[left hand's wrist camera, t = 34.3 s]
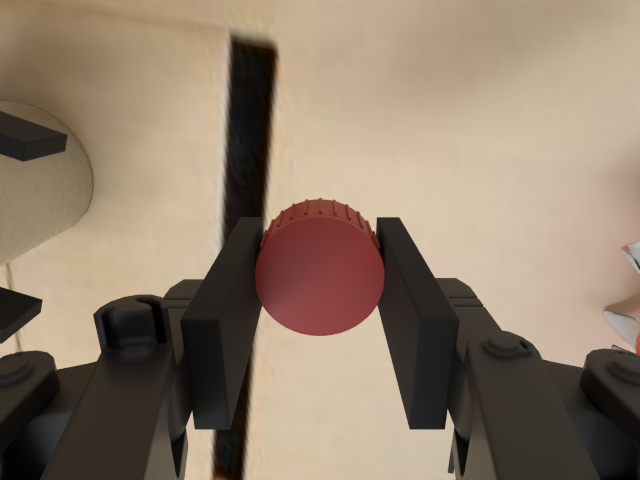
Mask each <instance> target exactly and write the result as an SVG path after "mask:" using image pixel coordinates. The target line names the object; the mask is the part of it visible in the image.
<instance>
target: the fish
mask: <svg viewBox="0 0 640 480" xmlns="http://www.w3.org/2000/svg"><path fill="white" fill-rule="evenodd" d="M628 248H629V250H630V252H631V254H632V255H630V254H629V253H627V252H626V251H623V252H622V253H623V255H624V256H625V257H626V258H627V259H628V261H629V262H630V263H631V264H632V266H633V267H634V268H635V269H636V271H637V272H638V273H639V274H640V241H638V242H636V243H633V244H630V245H628ZM603 315H604V317H605V318H606V320H607V321H608V322H609V324H610V325H611V326H612V327H613V328H614V329H615V331H616V332H617V333H618V334H619V335H620V336H621V337H622V338H623V339H624V340H625V341H626V342H628V343H629V344H630V345H631V346H633V347H634V348H635V350H636V354H637V355H639V356H640V325H639V323H638V322H637V321H636V319H634V318H633V317H631V316H627V315H623V314H618V313H614V312H611V311H605V312H604V313H603ZM612 349H614V350H623V351H626V352H630V351H627V350H624V349H622V348H619V347H618V346H616V345H612ZM631 353H632V352H631ZM634 354H635V353H634Z"/></svg>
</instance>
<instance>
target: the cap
mask: <svg viewBox="0 0 640 480" xmlns="http://www.w3.org/2000/svg"><path fill="white" fill-rule="evenodd" d="M259 248H260V251H259V254H258V257H257V261H256V265H255V279H256V292H257V295H258V298H259V300H260V302H261V304H262V305H263V307H264V308H265V310H266V311H267V312H268V313H269V314H270V315H271V317H272V318H273V319H275V320H276V321H277V322H278V323H280V324H281V325H283V326H285V327H286V328H288V329H291V330H293V331H295V332H298V333H302V334H306V335H314V336H326V335H333V334H337V333H341V332H344V331H347V330H349V329H351V328H353V327H355V326H356V325H358V324H359V323H361V322H362V321H363V320H365V319H366V318H367V317H368V316H369V315H370V314H371V313H372V312H373V310H374V309H375V307H376V306H377V304H378V302H379V300H380V298H381V296H382V293H383V289H384V274H385V267H384V263H383V259H382V256H381V254H380V251H379V250H381V248H380V245H379V243H378V240H377V237H376V234H375V232H374V231H373V232H372V230H371V227H370V225H369V222H368V221H365V219H364V218H363V217H362V216H361V215H360V212H359V211H357V212H356V211H355V210H353V209H352V208H350V207H349V206H348V205H347V204H346V205H344V204H341V203H339V202H336V201H335V200H333V201H331V200H323V199H322V198H319V200H309V201H308V199H307V200H305V201H304V202H301V203H298V204H295V203H294V204H292V206H291V207H289V208H288V209H286V210H285V211H283V210H282V211H281V213H280V215H279V216H278V217H277V218H276V219H275V220H274V219H273V220H272V221H271V224H270V227H269V229H268V231H267V230H266V231H265V233H264V236H263V238H262V241H261V244H260V247H259Z"/></svg>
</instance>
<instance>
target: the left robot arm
mask: <svg viewBox="0 0 640 480" xmlns="http://www.w3.org/2000/svg"><path fill="white" fill-rule="evenodd" d="M263 236H264V233H263V217H241V218H240V219H239V221H238V223H237V224H236V226H235V228H234V229H233V231H232V233H231V234H230V236H229V238H228V240H227V241H226V243H225V245H224V246H223V248H222V250H221V251H220V253H219V255H218V256H217V258H216V260H215V262H214V263H213V265H212V267H211V268H210V270H209V272H208V273H207V275H206V277H205V279H184V280H182V281H181V282H179V283H178V284H176V285H174V286H173V287H171V288H170V289H169V290H168V292H167V293H166V295H165V296H164V297H163V298H162V297H159V296H155V295H134V296H128V297H123V298H120V299H117V300H114V301H111V302H109V303H108V304H106V305H104V306H102V307H100V308H99V309H98V310H97V311H96V312H95V313H94V314H93V316H94V320H95V325H96V329H97V334H98V338H99V343H100V347H101V354H100V356H99V358H98V360H97V361H96V362H93V363H89V364H84V365H79V366H74V367H69V368H63V369H58V370H57V368H56V365H55V361H54V357H52V356H51V355H50V354H49V353H48V352H42V351H26V352H17V353H15V354H13V353H12V354H9V355H6V356H3V357H2V358H0V480H184V477H185V468H186V460H187V452H188V440H187V434H186V425H187V422H188V420H189V417H190V415H191V412H193V419H194V426H195V429H230V427H231V423H232V419H233V416H234V412H235V408H236V404H237V400H238V396H239V392H240V389H241V385H242V381H243V377H244V373H245V369H246V365H247V362H248V358H249V354H250V350H251V346H252V342H253V338H254V335H255V331H256V327H257V323H258V319H259V315H260V311H261V308H262V304H261V302H260V300H259V298H258V295H257V292H256V279H255V265H256V261H257V257H258V254H259V251H260V248H259V247H260V244H261V241H262V238H263ZM376 237H377V240H378V243H379V245H380V248H381V250H379V251H380V254H381V256H382V259H383V263H384V267H385V274H384V289H383V293H382V296H381V298H380V300H379V302H378V304H377V305H378V309H379V312H380V316H381V320H382V324H383V328H384V332H385V336H386V340H387V343H388V347H389V351H390V355H391V359H392V363H393V367H394V370H395V374H396V378H397V382H398V386H399V390H400V394H401V397H402V401H403V405H404V409H405V413H406V417H407V421H408V424H409V428H410V429H445V424H446V417H447V409H448V411H449V413H450V416H451V418H452V421H453V423H454V426H455V427H454V434H453V440H452V447H451V454H450V461H449V467H448V473H453V472H454V468H455V476H456V480H640V356H639V355H637V354H634V353H631V352H626V351H623V350H614V349H599V350H593V351H591V352H590V353H589V354H588V355H587V356H586V360H585V363H584V367H583V368H581V367H576V366H571V365H565V364H560V363H555V362H551V361H547V360H543V359H542V358H541V356H540V353H539V351H538V350H537V349H536V348H535V347H534V345H533V344H532V343H530V342H529V341H527V340H526V339H524V338H523V337H521V336H518V335H516V334H513V333H511V332H507V331H502V330H501V329H500V327H499V326H498V325H497V323H496V322H495V320H494V319H493V318H492V316H491V315H490V314H489V312H488V311H487V310H486V308H485V307H483V304H482V303H481V301H480V300H479V299H477V296H476V295H475V293H474V292H473V291H472V289H471V288H470V287H469V286H468V285H466V284H465V283H463V282H461V281H460V280H458V279H456V278H435V277H434V276H433V274H432V272H431V271H430V269H429V267H428V265H427V264H426V262H425V260H424V259H423V257H422V255H421V254H420V252H419V250H418V249H417V247H416V245H415V243H414V242H413V240H412V238H411V237H410V235H409V233H408V232H407V230H406V228H405V226H404V225H403V223H402V221H401V220H400V218H399V217H377V227H376Z"/></svg>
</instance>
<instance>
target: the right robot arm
mask: <svg viewBox="0 0 640 480" xmlns="http://www.w3.org/2000/svg"><path fill="white" fill-rule="evenodd" d="M67 137H68V135H67V134H64V133H61V132H59V131H56V130H53V129H50V128H47V127H44V126H41V125H39V124H36V123H33V122H30V121H27V120H24V119H21V118H19V117H16V116H13V115H10V114H7V113H4V112H2V111H0V154H1V155H4V156H7V157H10V158H13V159H16V160H19V161H22V162H25V161H29V160H33V159H37V158H41V157H45V156H49V155H53V154H57V153H61V152H65V150H66V143H67ZM41 306H42V300H41V299H38V298H35V297H32V296H28V295H25V294H22V293H18V292H15V291H12V290H8V289H5V288H2V287H0V343H1V344H2V343H3V342H4V341H6V340H7V339H8V338H9V337H11V336H12V335H13V334H14V333H15V332H17V331H18V330H19V329H20V328H22V327H23V326H24V325H25V324H27V323H28V322H29V321H30V320H32V319H33V318H34V317H35V316H37V315H38V314H39V313H40V312H41Z"/></svg>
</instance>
